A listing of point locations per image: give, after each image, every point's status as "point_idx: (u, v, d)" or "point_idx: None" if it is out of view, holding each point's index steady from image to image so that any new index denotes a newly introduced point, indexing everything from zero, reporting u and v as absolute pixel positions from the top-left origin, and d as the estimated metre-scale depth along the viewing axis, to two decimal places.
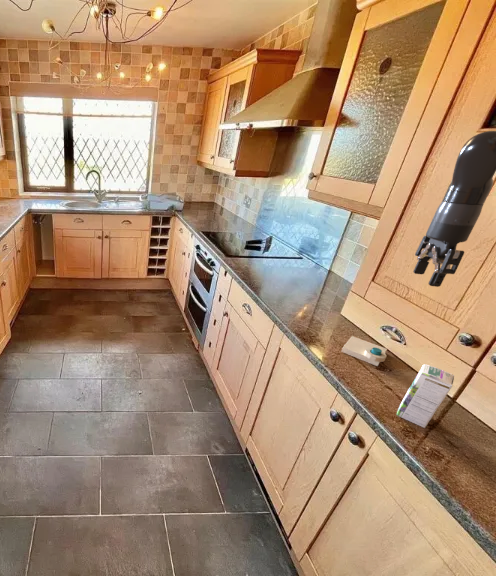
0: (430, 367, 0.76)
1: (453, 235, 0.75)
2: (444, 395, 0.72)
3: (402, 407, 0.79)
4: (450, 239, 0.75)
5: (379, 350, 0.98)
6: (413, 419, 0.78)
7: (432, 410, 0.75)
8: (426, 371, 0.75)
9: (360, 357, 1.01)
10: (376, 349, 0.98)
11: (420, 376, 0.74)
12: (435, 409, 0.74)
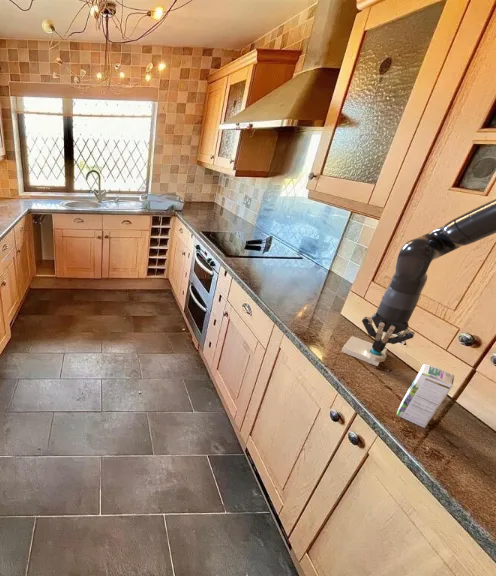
0: (430, 367, 0.76)
1: (410, 316, 0.89)
2: (444, 395, 0.72)
3: (402, 407, 0.79)
4: (408, 319, 0.89)
5: None
6: (413, 419, 0.78)
7: (432, 410, 0.75)
8: (426, 371, 0.75)
9: (360, 357, 1.01)
10: None
11: (420, 376, 0.74)
12: (435, 409, 0.74)
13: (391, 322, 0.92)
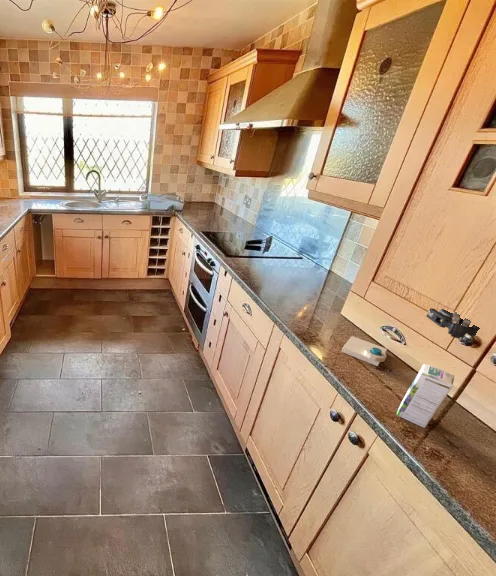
0: (430, 367, 0.76)
1: None
2: (444, 395, 0.72)
3: (402, 407, 0.79)
4: None
5: (379, 350, 0.98)
6: (413, 419, 0.78)
7: (432, 410, 0.75)
8: (426, 371, 0.75)
9: (360, 357, 1.01)
10: (376, 349, 0.98)
11: (420, 376, 0.74)
12: (435, 409, 0.74)
13: None
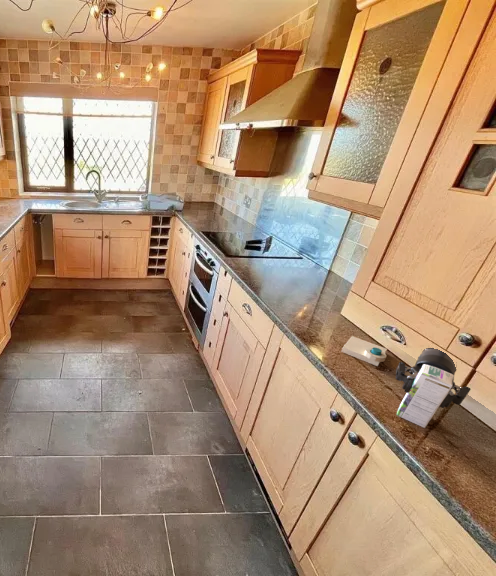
0: (430, 367, 0.76)
1: None
2: (444, 395, 0.72)
3: (402, 407, 0.79)
4: None
5: (379, 350, 0.98)
6: (413, 419, 0.78)
7: (432, 410, 0.75)
8: (426, 371, 0.75)
9: (360, 357, 1.01)
10: (376, 349, 0.98)
11: (420, 376, 0.74)
12: (435, 409, 0.74)
13: None
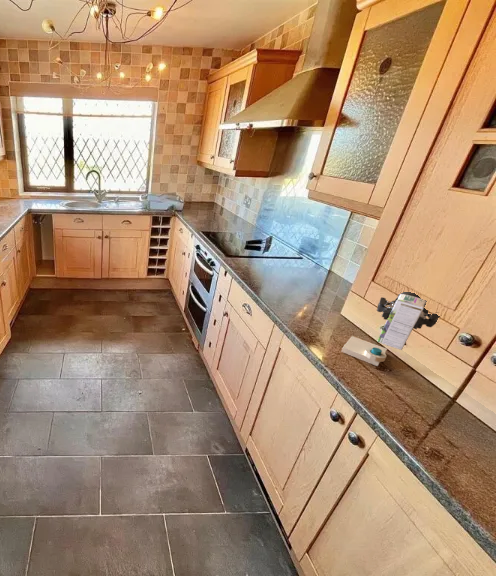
0: (406, 295, 0.86)
1: None
2: (417, 317, 0.82)
3: (382, 333, 0.89)
4: None
5: (379, 350, 0.98)
6: (391, 343, 0.88)
7: (407, 332, 0.85)
8: (402, 298, 0.85)
9: (360, 357, 1.01)
10: (376, 349, 0.98)
11: (396, 302, 0.85)
12: (410, 331, 0.84)
13: None
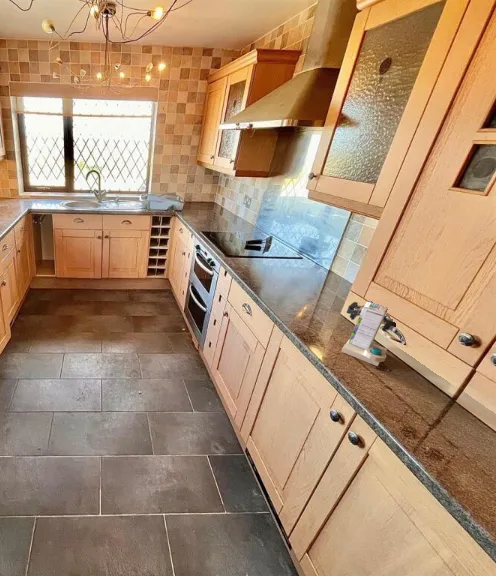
0: (371, 303, 1.01)
1: None
2: (379, 321, 0.97)
3: (352, 335, 1.04)
4: None
5: (379, 350, 0.98)
6: (360, 344, 1.03)
7: (372, 334, 1.00)
8: (368, 305, 1.00)
9: (360, 357, 1.01)
10: (376, 349, 0.98)
11: (363, 309, 1.00)
12: (374, 333, 0.99)
13: None
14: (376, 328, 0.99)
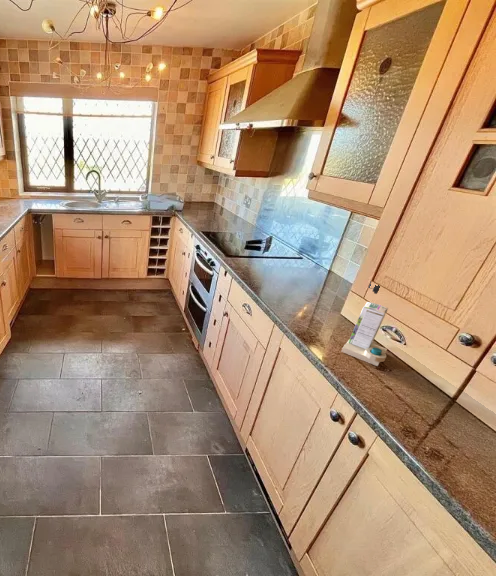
0: (371, 303, 1.01)
1: None
2: (379, 321, 0.97)
3: (352, 335, 1.04)
4: None
5: (379, 350, 0.98)
6: (360, 344, 1.03)
7: (372, 334, 1.00)
8: (368, 305, 1.00)
9: (360, 357, 1.01)
10: (376, 349, 0.98)
11: (363, 309, 1.00)
12: (374, 333, 0.99)
13: None
14: (376, 328, 0.99)
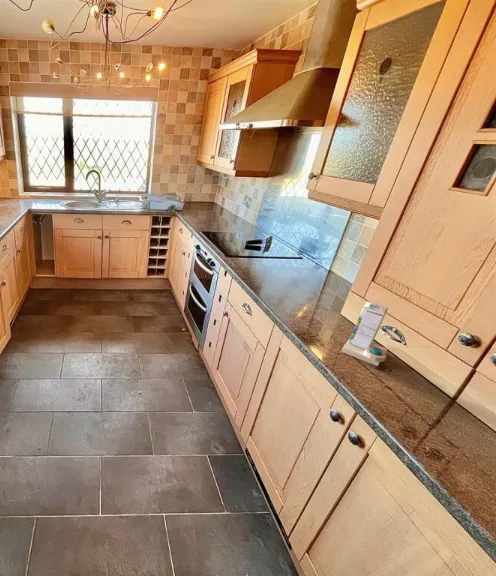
0: (371, 303, 1.01)
1: None
2: (379, 321, 0.97)
3: (352, 335, 1.04)
4: None
5: (379, 350, 0.98)
6: (360, 344, 1.03)
7: (372, 334, 1.00)
8: (368, 305, 1.00)
9: (360, 357, 1.01)
10: (376, 349, 0.98)
11: (363, 309, 1.00)
12: (374, 333, 0.99)
13: None
14: (376, 328, 0.99)
